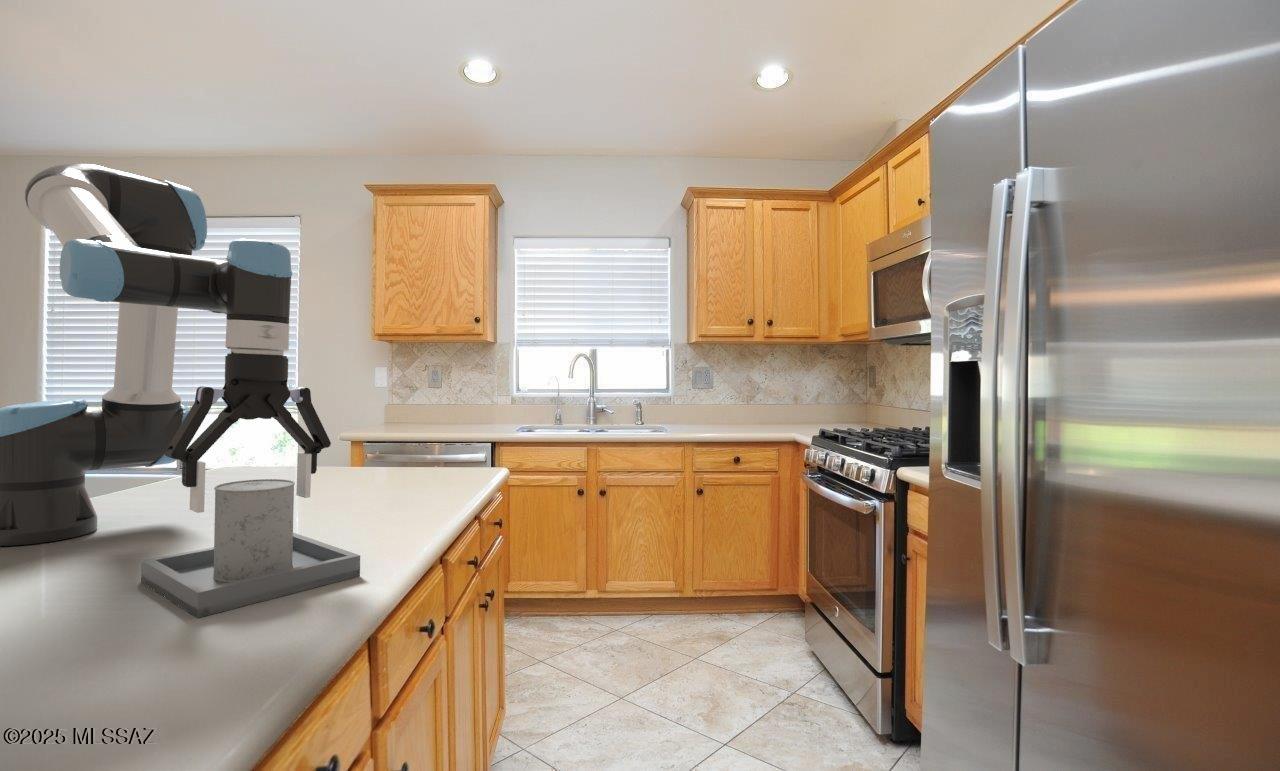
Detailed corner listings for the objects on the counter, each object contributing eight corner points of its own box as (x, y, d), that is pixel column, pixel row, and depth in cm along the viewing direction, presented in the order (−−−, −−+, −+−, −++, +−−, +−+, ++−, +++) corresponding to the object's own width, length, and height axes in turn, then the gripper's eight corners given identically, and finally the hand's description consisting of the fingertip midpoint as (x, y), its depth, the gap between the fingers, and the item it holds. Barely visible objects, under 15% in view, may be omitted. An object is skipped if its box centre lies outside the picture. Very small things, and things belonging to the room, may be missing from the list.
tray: (140, 582, 83) (141, 560, 83) (293, 550, 99) (294, 532, 99) (197, 618, 71) (197, 592, 71) (359, 576, 88) (360, 555, 88)
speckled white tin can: (307, 563, 90) (309, 480, 90) (261, 584, 80) (263, 492, 80) (247, 560, 91) (249, 478, 91) (194, 580, 81) (196, 489, 81)
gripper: (158, 347, 73) (153, 523, 73) (357, 357, 93) (353, 494, 94) (137, 347, 77) (133, 512, 78) (332, 356, 97) (328, 487, 98)
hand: (253, 503), depth 86 cm, fingers open, 13 cm apart
